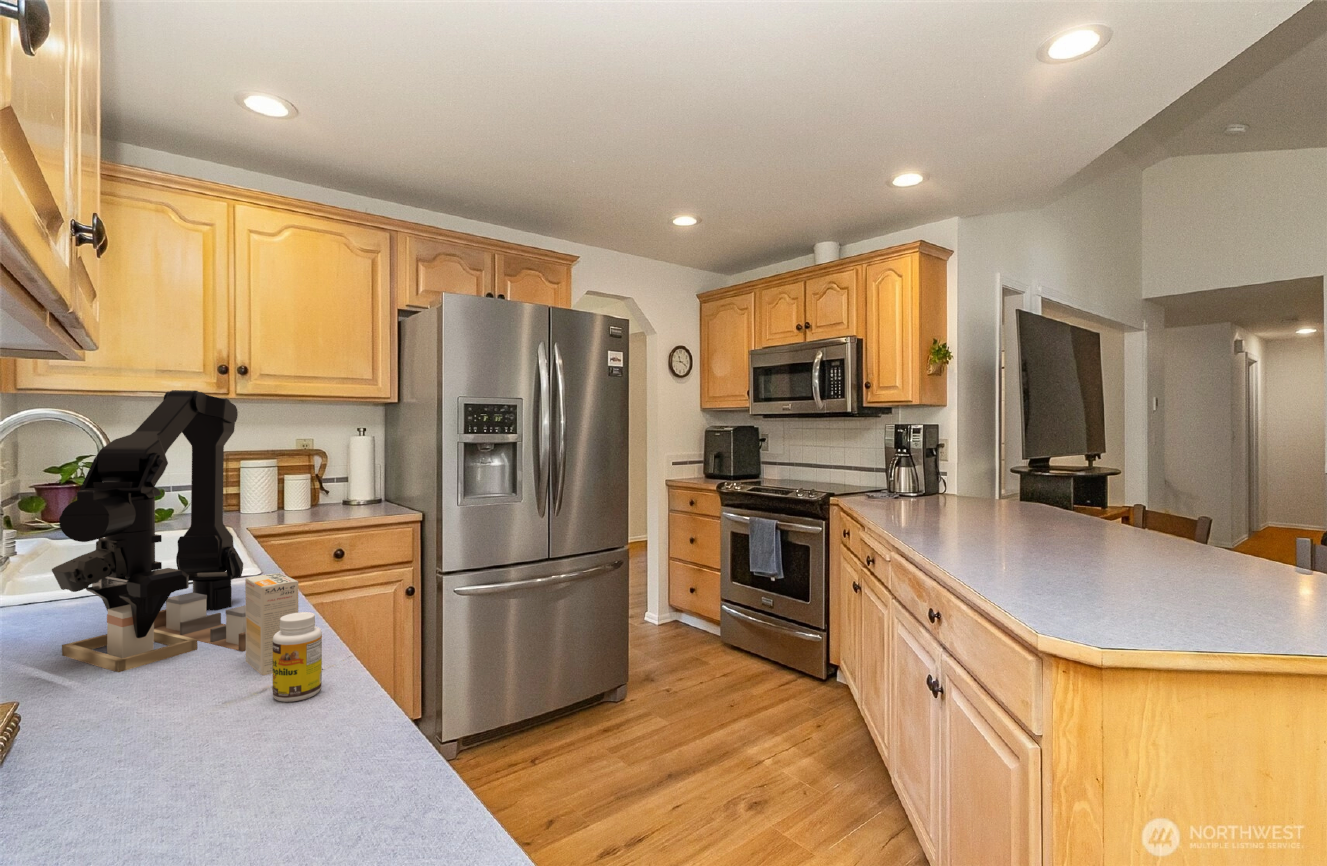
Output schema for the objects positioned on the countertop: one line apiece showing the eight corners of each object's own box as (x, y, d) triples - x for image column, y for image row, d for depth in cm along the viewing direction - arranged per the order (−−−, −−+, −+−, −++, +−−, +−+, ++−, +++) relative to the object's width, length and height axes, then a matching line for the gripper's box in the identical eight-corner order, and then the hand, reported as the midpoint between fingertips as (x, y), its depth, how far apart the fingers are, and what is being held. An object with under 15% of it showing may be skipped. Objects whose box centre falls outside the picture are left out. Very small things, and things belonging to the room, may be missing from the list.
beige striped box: (138, 647, 99) (139, 602, 98) (154, 652, 97) (154, 606, 97) (106, 656, 95) (107, 609, 95) (121, 661, 93) (122, 613, 93)
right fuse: (225, 641, 100) (225, 609, 100) (251, 634, 104) (251, 603, 104) (242, 645, 99) (242, 613, 99) (268, 637, 103) (268, 606, 102)
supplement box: (300, 673, 91) (300, 580, 91) (261, 683, 87) (261, 586, 87) (281, 658, 96) (281, 571, 96) (244, 667, 93) (244, 576, 93)
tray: (62, 661, 94) (61, 644, 94) (140, 641, 103) (140, 625, 103) (118, 679, 88) (118, 661, 88) (197, 655, 97) (197, 639, 97)
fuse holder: (147, 634, 107) (147, 613, 107) (192, 622, 113) (192, 603, 113) (242, 657, 96) (242, 634, 96) (287, 643, 103) (287, 621, 103)
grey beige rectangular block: (165, 627, 107) (165, 598, 107) (192, 621, 111) (192, 592, 111) (180, 631, 105) (180, 600, 105) (206, 624, 109) (206, 595, 109)
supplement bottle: (261, 700, 82) (261, 620, 82) (298, 683, 87) (298, 608, 87) (296, 706, 80) (296, 624, 80) (331, 688, 85) (331, 612, 85)
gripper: (27, 533, 92) (28, 641, 92) (98, 544, 84) (99, 662, 85) (120, 522, 102) (120, 620, 103) (190, 531, 95) (191, 637, 95)
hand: (130, 634), depth 96 cm, fingers open, 5 cm apart
